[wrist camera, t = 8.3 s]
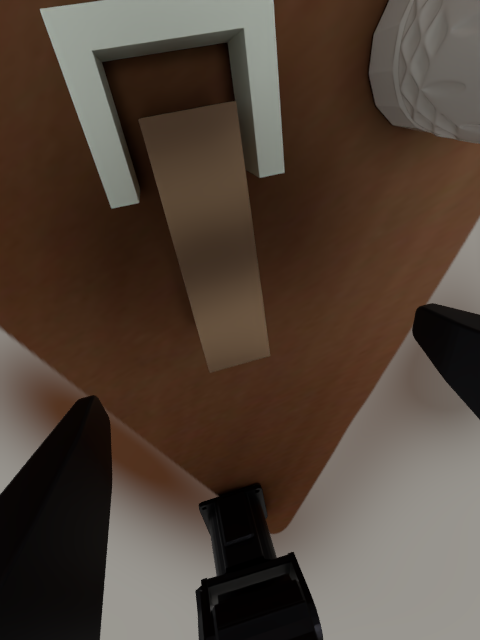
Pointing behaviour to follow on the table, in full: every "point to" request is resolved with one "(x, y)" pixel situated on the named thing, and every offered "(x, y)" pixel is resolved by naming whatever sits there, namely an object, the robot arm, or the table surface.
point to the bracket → (157, 37)
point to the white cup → (429, 67)
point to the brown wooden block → (211, 227)
